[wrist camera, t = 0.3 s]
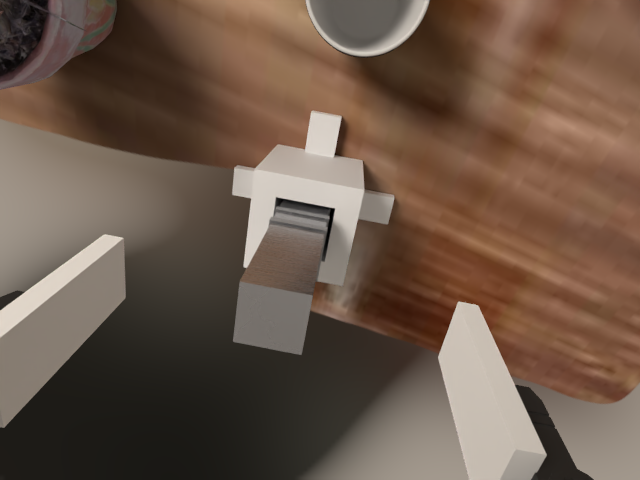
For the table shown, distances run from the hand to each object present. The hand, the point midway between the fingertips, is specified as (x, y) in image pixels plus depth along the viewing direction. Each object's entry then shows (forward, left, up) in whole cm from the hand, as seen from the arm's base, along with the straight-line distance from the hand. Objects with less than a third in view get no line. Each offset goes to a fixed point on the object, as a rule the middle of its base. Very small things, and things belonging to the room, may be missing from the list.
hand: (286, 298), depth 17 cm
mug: (-15, +1, -30) cm, 34 cm away
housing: (+5, -1, -30) cm, 30 cm away
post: (+5, -1, -30) cm, 30 cm away
